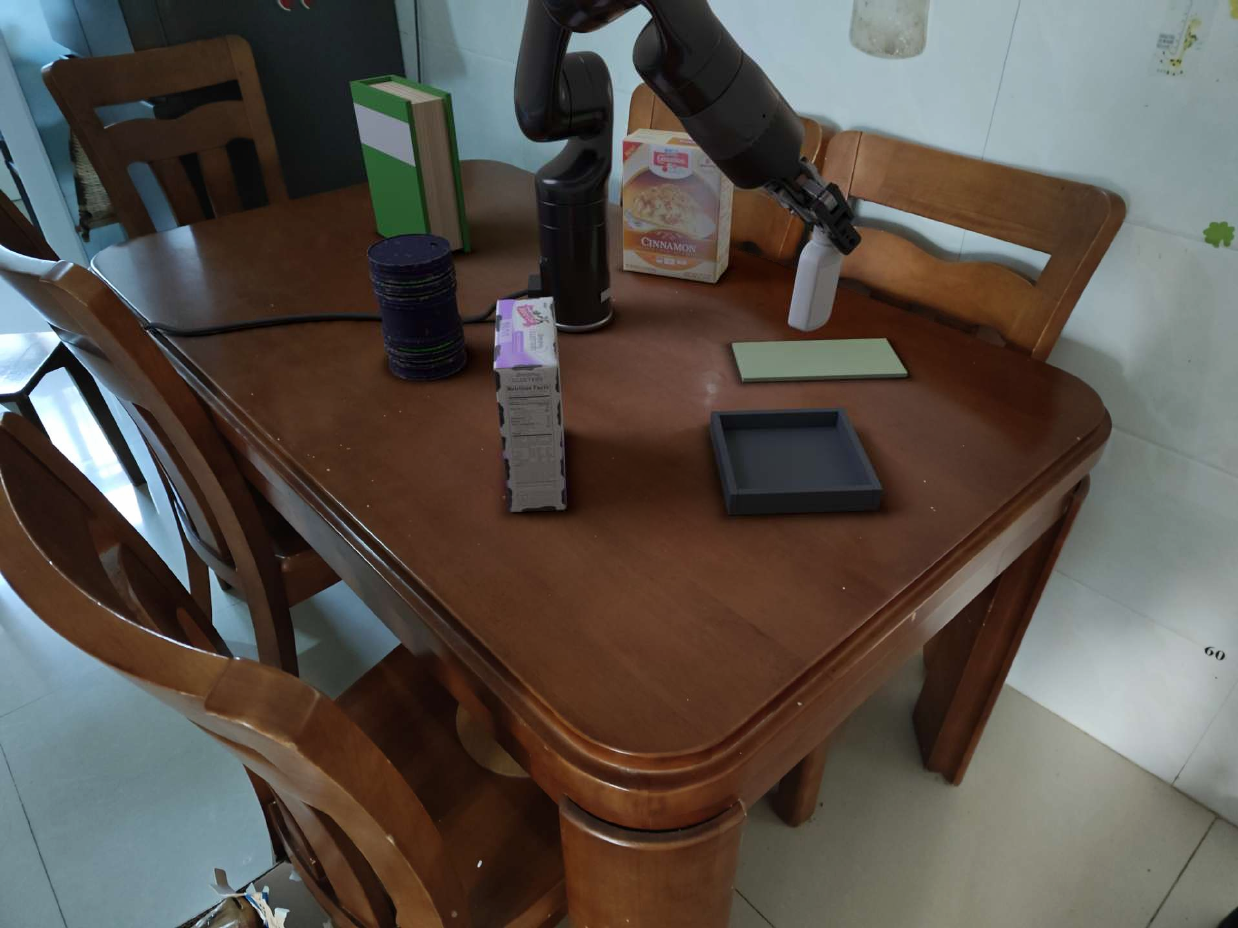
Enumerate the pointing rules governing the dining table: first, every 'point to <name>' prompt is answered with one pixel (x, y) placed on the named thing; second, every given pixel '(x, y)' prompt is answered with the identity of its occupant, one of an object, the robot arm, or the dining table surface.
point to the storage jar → (418, 305)
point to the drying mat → (817, 360)
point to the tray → (792, 462)
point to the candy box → (530, 404)
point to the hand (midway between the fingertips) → (839, 238)
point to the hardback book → (411, 158)
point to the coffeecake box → (674, 207)
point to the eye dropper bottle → (815, 283)
